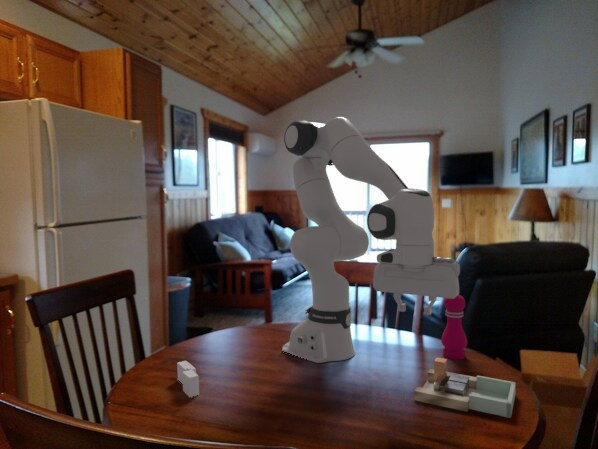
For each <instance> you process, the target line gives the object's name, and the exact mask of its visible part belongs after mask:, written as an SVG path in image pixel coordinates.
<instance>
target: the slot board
mask: <svg viewBox="0 0 598 449" xmlns="http://www.w3.org/2000/svg"><path fill="white" fill-rule="evenodd" d="M452 374H457V375H463V376H468V377H469V391H468V393H467V395H466V397H465V396H460V395H455V394H450V393H446V392H444V389H443V391H442V392H441V391H436V390H433V385H434V383H435V381H436V380H437V379H434V368H430V369H429V370H428V371H427V381H426V382H425V383H424V385H423V386H422V387H421V386H417V387H416V388H415V389H414V391H413V392H414V396H413V397H414V399H413V400H414V401H418V402H421V403H427V404H430V405H435V406H439V407H444V408H449V409H453V410H458V411H461V412H465V413H466V412H467V413H468V411H469V410H470V409H469V394H473V395H474V394H475V392H476V389H477V376H471V375H465V374H460V373H455V372H449V371H447V382H448V381H449V378H450V376H451V375H452Z"/></svg>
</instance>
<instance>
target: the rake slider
mask: <svg viewBox="0 0 598 449" xmlns="http://www.w3.org/2000/svg"><path fill="white" fill-rule="evenodd" d="M433 364H434V366H433V367H434V368H433V369H434V379H437V380H436V381H435V383H434V385H433V390H436V391H441V392H442V391H443V389H444V387H445V385H446V383H447V372H448V358H442V357H435V359H434V361H433Z"/></svg>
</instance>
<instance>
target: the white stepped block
mask: <svg viewBox="0 0 598 449" xmlns="http://www.w3.org/2000/svg"><path fill="white" fill-rule="evenodd" d="M176 366H177V367H176V368H177V370H176V371H177V381H178V380H179V381H180V382H181V383H182V384H183V385H182V384H181V383H180V382H179V381H178V382H179V383H180V384H181V385H182V392H184V393H185V394H186V396H188V398H190V397H191V398H194V397H197V395H198V396H199V395H200V378H199V374H197V369H196V367H194V366H193V365H192V364H191V363H190V362H188V361H187V360H183V361H179V362H177V363H176ZM193 396H194V397H193Z"/></svg>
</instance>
